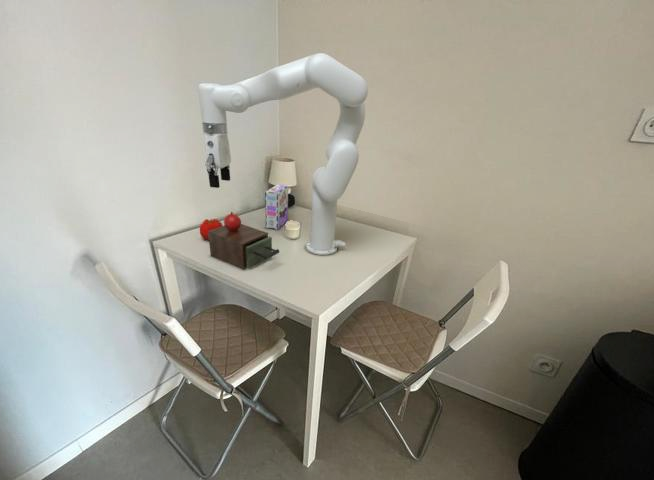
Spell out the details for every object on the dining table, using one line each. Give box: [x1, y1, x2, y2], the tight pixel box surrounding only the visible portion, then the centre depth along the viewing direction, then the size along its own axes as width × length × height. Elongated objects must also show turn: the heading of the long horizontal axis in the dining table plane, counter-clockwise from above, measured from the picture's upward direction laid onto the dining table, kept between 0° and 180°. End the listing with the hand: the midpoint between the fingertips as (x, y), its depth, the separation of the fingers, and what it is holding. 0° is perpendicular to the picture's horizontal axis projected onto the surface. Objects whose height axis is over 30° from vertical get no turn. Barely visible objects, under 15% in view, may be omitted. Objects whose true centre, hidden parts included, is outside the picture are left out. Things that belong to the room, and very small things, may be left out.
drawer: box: [244, 236, 280, 270], centre depth 124 cm, size 21×12×8 cm, turn 56°
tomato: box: [199, 218, 224, 241], centre depth 140 cm, size 9×9×8 cm
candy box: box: [264, 184, 289, 230], centre depth 155 cm, size 14×6×16 cm, turn 164°
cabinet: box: [208, 223, 269, 270], centre depth 127 cm, size 17×13×10 cm
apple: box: [223, 211, 242, 232], centre depth 123 cm, size 6×6×7 cm
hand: (220, 183), depth 119 cm, fingers open, 9 cm apart
